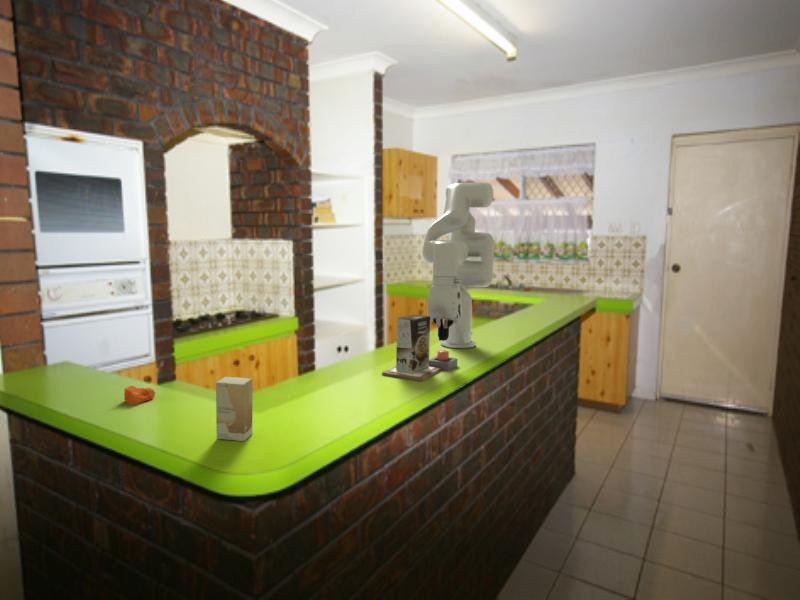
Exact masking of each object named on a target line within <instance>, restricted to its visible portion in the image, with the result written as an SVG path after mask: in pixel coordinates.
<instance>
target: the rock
mask: <svg viewBox="0 0 800 600" xmlns="http://www.w3.org/2000/svg"><path fill="white" fill-rule="evenodd" d="M123 394H124V397H123V399H124V402H125V403H126V404H128V405H130V406H132V405H133V406H134V405H140V404H143V403H144V402H146V401H151V400H153V399H154V398H155V396H156V390H155V389H154V388H152V387H145V388H144V387H137V386H134V385H129V386H126V387H124V391H123Z"/></svg>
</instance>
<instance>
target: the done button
mask: <svg viewBox="0 0 800 600" xmlns="http://www.w3.org/2000/svg"><path fill="white" fill-rule="evenodd" d="M449 353H450V352H449V350H442V349H441V350H440V349H439V350H437V353H436V356H437V361H444V362H447V361H449V357H450V356H449V355H450V354H449Z"/></svg>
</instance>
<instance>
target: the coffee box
mask: <svg viewBox="0 0 800 600" xmlns="http://www.w3.org/2000/svg"><path fill="white" fill-rule="evenodd" d="M396 319H397V320H396V321H397V322H396V354H395V355H396V358H395V359H396V360H395V361H396V363H395V366H396V370H397V371H402V372H406V373H410V374H413V373H416V372H419V371H421V370H424V369H427V368H429V359H430V339H431V338H430V336H431V335H430V332H431V320H430V316H428V315H421V314H411V315H404V316H401V317H397V318H396Z"/></svg>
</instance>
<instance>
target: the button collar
mask: <svg viewBox="0 0 800 600" xmlns="http://www.w3.org/2000/svg"><path fill="white" fill-rule="evenodd" d="M429 366H433V367H440V368H442V370H441V371H447V372H449V371H451V370H452V369H454V368H456V367H458V358H456V357H450V356H449V361H447V362H444V361H437V355H435V356H434V357H432V358H429Z"/></svg>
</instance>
